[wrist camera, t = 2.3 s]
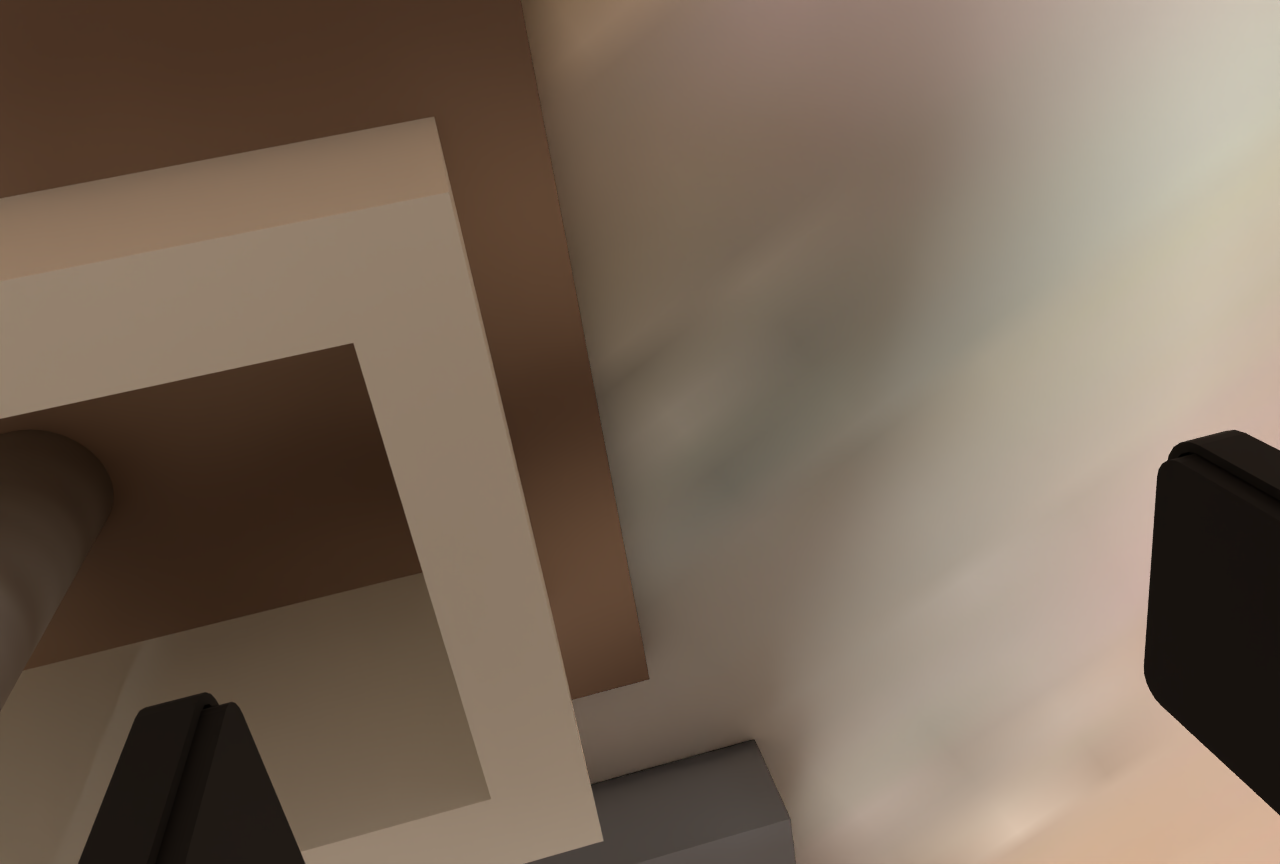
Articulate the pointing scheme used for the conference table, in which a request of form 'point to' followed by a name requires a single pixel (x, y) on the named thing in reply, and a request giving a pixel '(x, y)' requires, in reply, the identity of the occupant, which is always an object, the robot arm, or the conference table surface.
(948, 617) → the conference table surface
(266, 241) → the collar
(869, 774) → the conference table surface
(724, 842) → the tray
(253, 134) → the stake stand
